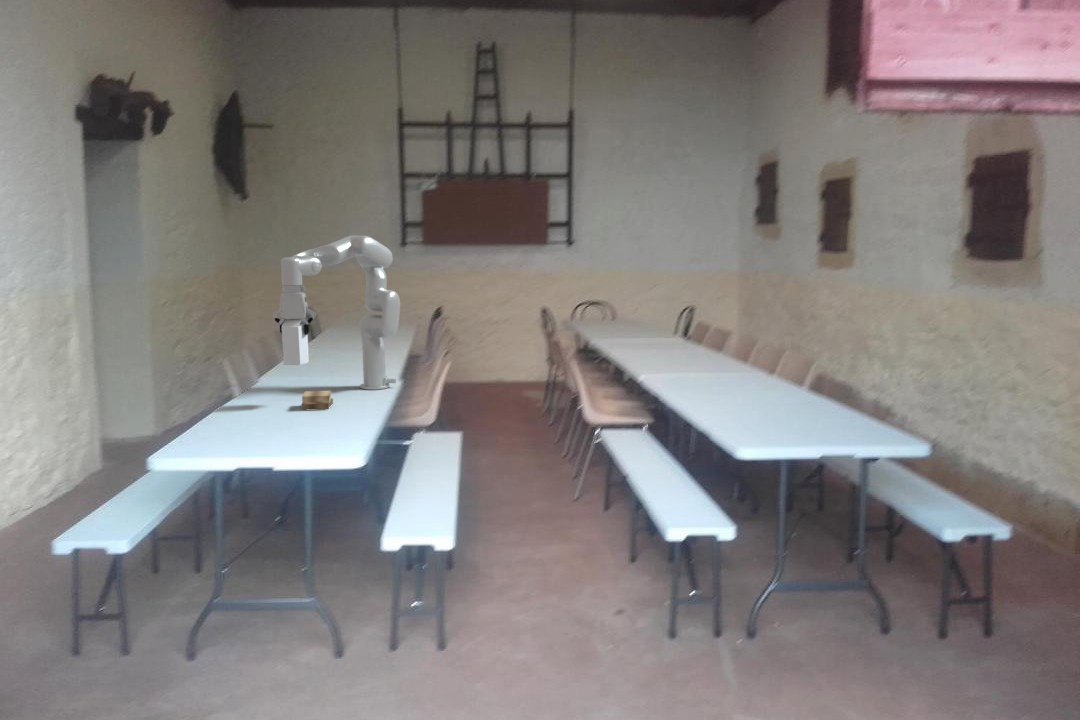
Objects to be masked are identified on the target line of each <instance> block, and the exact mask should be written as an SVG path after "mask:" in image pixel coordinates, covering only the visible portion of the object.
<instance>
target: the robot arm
mask: <svg viewBox="0 0 1080 720" xmlns="http://www.w3.org/2000/svg"><path fill="white" fill-rule="evenodd" d="M352 258H356V261H357V262H358V264H359V266H360V267H361V268H362V269H363V271H364V273H365V277H366V284H365V285H366V287H365V288H366V289H365V296H364V305H365V308H366V309H367V310H368V311H371V312H379V313H381V314H371V313H370V314H366V315H363V317H361V319H360V320H359V325H358V327H359V333H360V338H361V346H362V347H361V348H362V350H361V351H362V371H363V372H362V374H363V375H362V376H363V383H361V384H360V385H359V388H360V389H362V390H370V391H373V390H374V391H377V390H383V389H388V388H390V386H391V385H390V384H397V379H396V378H388V375H386V374H387V373H386V371H387V370H386V346H385V343H384V340H383V339H391V338H393V337H395V336H396V335H397V333H398V329H399V323H400V313H401V299H400V296H399V294H398V293H397V292H396V291H395V290H392V289H387V282H388V279H387V273H386V271H385V270H384V269H387V268H389V267H390V266H391V265H392V263H393V260H394V257H393V253H392V251H391V250H390V249H389V248H388V247H386V246H385V245H383V244H382V243H381V242H379V241H378V240H376V239H374V238H373V237H370V236H369V235H353V234H352V235H349V236H345V237H343V238H340V239H338V240H336V241H333V242H331V243H328V244H326V245H321V246H318V247H315V248H310V249H307V250H303V251H301V252H299V253H297V254H294V255H292V256H291V257H283V258H282V259H281V261H280V267H281V268H280V269H281V270H280V271H281V285H282V287H281V288H282V290H281V291H282V292H281V293H280V299H279V308H278V309H277V310H276V311H273V313H271V316H272V318H273V319H274V321H275V322H276V323H277V324H278V325H279V333H280V334H281V336H282V325H283V322H284V320H285V319H302V320H303V321H304V322H305V325H304V332H305V335H307V334H308V335H309V333H310V324H311V323H312V321H313V320H314V319H315V318H316V315H317V313H316V311H313V310H312V309H310V308H309V307H308V301H307V294H306V292H304V291H306V290H307V286H304V285H303V276H308V277H309V276H310V277H311V276H316V275H318V274H320V272H321V270H322V267H328V266H331V267H332V266H335V265H339V264H340V263H343V262H345V261H347V260H350V259H352ZM278 315H279V317H278ZM309 315H310V316H309ZM308 316H309V319H308Z"/></svg>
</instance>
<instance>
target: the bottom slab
mask: <svg viewBox="0 0 1080 720" xmlns="http://www.w3.org/2000/svg"><path fill="white" fill-rule="evenodd" d="M332 404H333V405H334V398H332V397H331V400H330V403H325V404H302V403H301V411H307V410H306V409H329V407H330V406H331V405H332ZM333 405H332V406H333ZM332 406H331V407H332ZM331 407H330V408H331ZM329 410H330V409H329Z"/></svg>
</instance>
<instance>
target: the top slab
mask: <svg viewBox="0 0 1080 720" xmlns="http://www.w3.org/2000/svg"><path fill="white" fill-rule="evenodd" d="M331 398H332V390H309V391H307V390H306V391H304V392H303V394H302V396H301V399H302V400H301V401H302V403H301V405H302V404H325V403H330V400H331Z"/></svg>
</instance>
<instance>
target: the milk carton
mask: <svg viewBox="0 0 1080 720" xmlns="http://www.w3.org/2000/svg"><path fill="white" fill-rule="evenodd" d="M304 325H305V322H304V321H303V320H302V319H285V320H284V322H283V325H282V335H281V342H282V344H281V345H282V358H283V359H282V360H283V361H282V363H283V365H284V366H285V365H286V366H302V365H305V364H307V363H309V362H310V359H309V357H310V356H309V355H310V354H309V340H308V339H309V338H308V335H309V333H308V334H307V335H305V332H304Z"/></svg>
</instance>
